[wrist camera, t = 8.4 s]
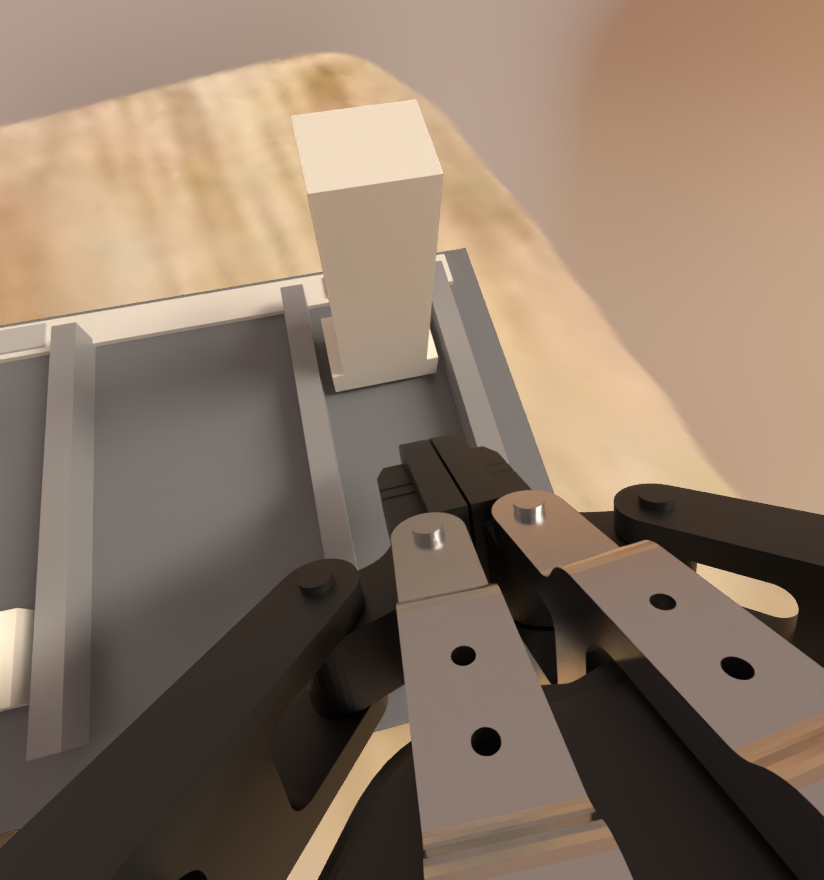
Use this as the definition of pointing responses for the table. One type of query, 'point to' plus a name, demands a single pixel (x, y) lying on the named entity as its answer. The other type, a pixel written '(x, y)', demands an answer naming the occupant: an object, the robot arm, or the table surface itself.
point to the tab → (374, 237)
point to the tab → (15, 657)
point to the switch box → (200, 487)
